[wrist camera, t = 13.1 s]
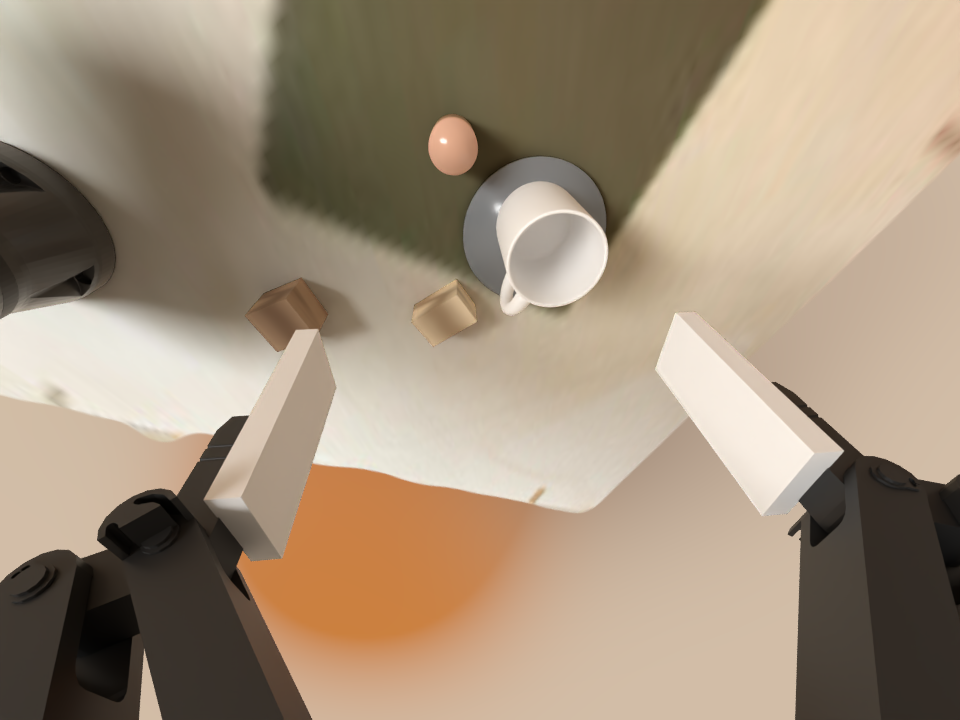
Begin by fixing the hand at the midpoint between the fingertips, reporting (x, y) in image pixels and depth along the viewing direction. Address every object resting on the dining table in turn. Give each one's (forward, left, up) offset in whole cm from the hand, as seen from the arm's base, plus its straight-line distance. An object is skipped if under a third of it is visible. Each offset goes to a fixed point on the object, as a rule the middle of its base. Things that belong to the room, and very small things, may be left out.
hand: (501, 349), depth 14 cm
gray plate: (+6, -5, -28) cm, 29 cm away
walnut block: (-21, -12, -28) cm, 37 cm away
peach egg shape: (-2, +4, -28) cm, 29 cm away
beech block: (-4, -13, -28) cm, 32 cm away
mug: (+5, -6, -28) cm, 29 cm away
